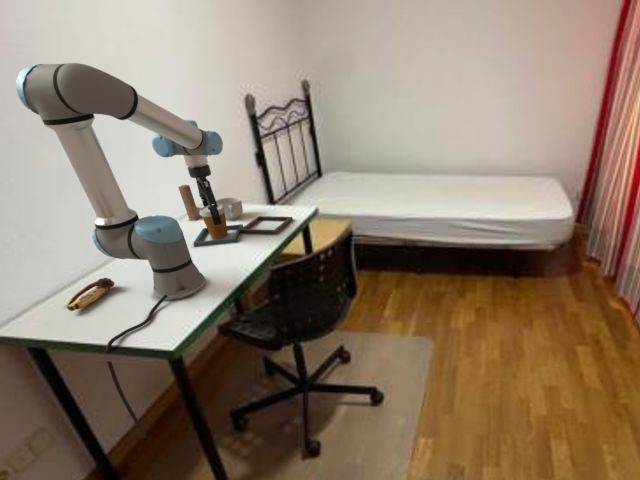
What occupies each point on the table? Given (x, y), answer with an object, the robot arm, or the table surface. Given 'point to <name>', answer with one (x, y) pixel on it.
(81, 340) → the table surface
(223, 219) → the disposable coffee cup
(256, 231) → the right stand
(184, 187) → the wooden block
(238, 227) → the left stand
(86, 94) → the robot arm
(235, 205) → the teacup
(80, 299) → the bone fish hook
